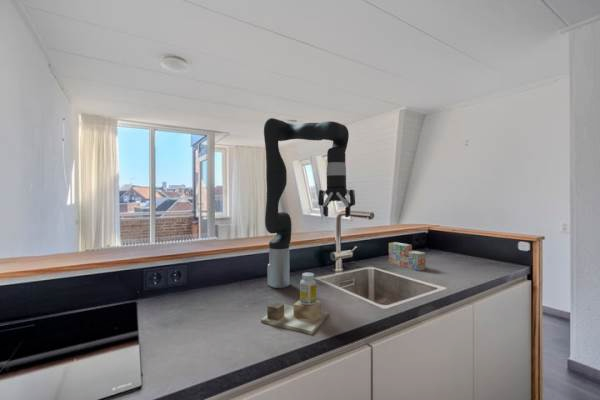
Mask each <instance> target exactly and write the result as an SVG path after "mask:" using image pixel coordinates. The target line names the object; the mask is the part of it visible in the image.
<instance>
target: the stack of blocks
mask: <svg viewBox="0 0 600 400" xmlns="http://www.w3.org/2000/svg"><path fill="white" fill-rule="evenodd" d="M389 262H391V263H390V264H392V263H394V264H393V265H395V264H397V265H396V266H399V265H400V266H399V267H402V266H404V267H403V268H406V267H407V268H406V269H411V270H413V271H417V272H419V271H424V270H423V269H425V270H426V252H424V251H423V252H422V251H419V250H413V245H412V244H408V243H402V242H397V241H393V242H388V263H389Z"/></svg>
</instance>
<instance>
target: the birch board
mask: <svg viewBox="0 0 600 400" xmlns="http://www.w3.org/2000/svg"><path fill="white" fill-rule="evenodd" d="M283 304H284V316H283V317H282V318H281V319H280V320H278V321H277V320H273V319H268V318H267V314H266V315H265V316H264V317H262V318H261V319H260V323H262V324H267V325H271V326H275V327H278V328H279V327H280V328H283V329H287V330H292V331H295V332H300V333H303V334H304V333H305V334H308V335H313V334H314V332H315V331H316V330H318V328H320V326H321V325H322V324H323V323H324V321H326V320H327V318H328V317H329V316H330V315H329V312H324V311H321V313H320V314H319V315H318V316H317V317H316V318H315V319H314V320H308V319H303V318H299V317H294V305H290V304H285V303H283Z"/></svg>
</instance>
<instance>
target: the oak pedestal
mask: <svg viewBox="0 0 600 400" xmlns="http://www.w3.org/2000/svg"><path fill="white" fill-rule="evenodd" d="M292 306H294V317H299V318H303V319H308V320H314V319H315V318H316V317H317V316H318V315H319V314H320V313H321V312H322V300H320V299H319V300H318V299H316V303H315V304H313V305H303V304H301V302H300V299H298V301H296V302H295V303H293V305H292Z"/></svg>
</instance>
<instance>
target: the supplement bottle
mask: <svg viewBox="0 0 600 400" xmlns="http://www.w3.org/2000/svg"><path fill="white" fill-rule="evenodd" d="M301 276H302V277H301V278H302V279H301V280H300V283H299V300H300V302H301V304H303V305H313V304H315V303H316V300H317V281H316V280H315V273H313V272H303V273H302V274H301Z"/></svg>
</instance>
